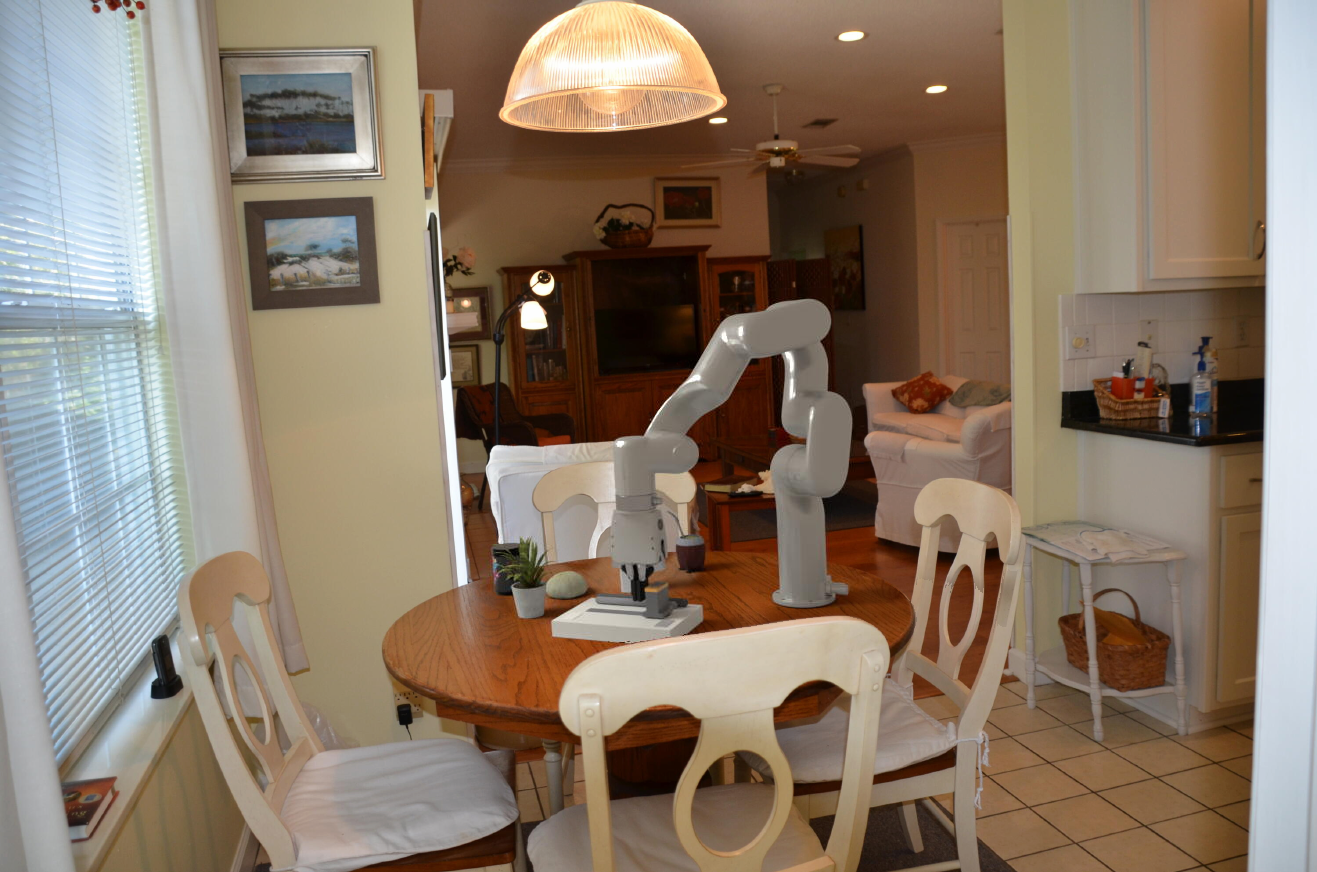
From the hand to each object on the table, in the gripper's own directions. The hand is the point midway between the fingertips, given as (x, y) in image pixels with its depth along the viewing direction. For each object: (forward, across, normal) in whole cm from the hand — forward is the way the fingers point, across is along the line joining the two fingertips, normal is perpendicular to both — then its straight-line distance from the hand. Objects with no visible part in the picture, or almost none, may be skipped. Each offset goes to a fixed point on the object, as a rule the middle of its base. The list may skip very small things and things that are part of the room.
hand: (640, 599), depth 174 cm
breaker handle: (+2, -3, 0) cm, 4 cm away
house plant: (+6, +28, -4) cm, 29 cm away
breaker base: (+6, +3, 0) cm, 6 cm away
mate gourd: (+6, +8, -44) cm, 45 cm away
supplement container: (+6, +41, -18) cm, 45 cm away
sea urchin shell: (+6, +27, -19) cm, 34 cm away
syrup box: (+6, +14, -26) cm, 30 cm away
